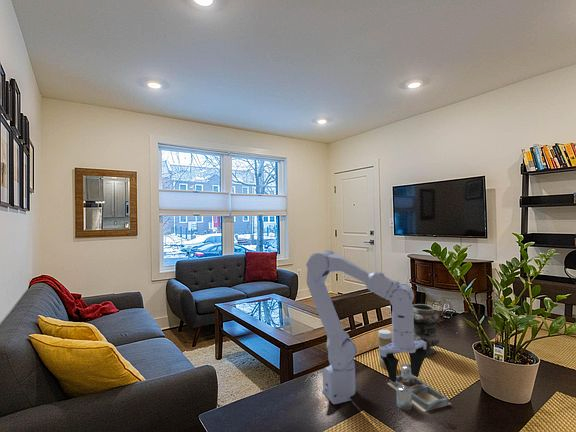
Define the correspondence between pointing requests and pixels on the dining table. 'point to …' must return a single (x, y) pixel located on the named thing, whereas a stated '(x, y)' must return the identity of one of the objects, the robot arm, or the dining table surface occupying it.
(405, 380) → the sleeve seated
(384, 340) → the sprinkles bottle
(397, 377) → the board
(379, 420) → the dining table surface
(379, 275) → the robot arm
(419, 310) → the apothecary jar
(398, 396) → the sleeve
